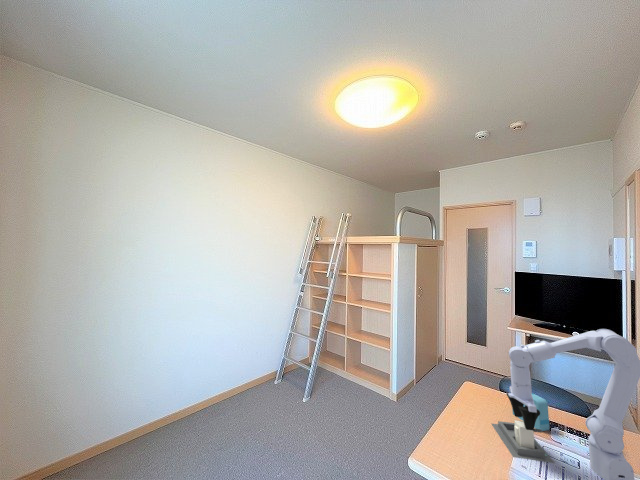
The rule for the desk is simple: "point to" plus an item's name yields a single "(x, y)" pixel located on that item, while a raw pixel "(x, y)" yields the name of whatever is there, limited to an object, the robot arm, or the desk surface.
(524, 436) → the plug
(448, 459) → the desk surface
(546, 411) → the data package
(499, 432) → the jack panel
